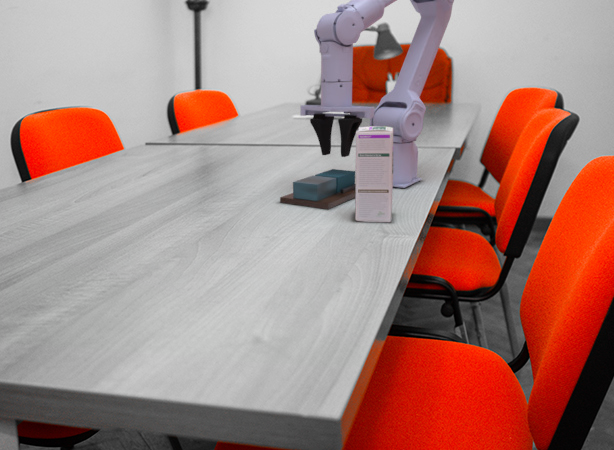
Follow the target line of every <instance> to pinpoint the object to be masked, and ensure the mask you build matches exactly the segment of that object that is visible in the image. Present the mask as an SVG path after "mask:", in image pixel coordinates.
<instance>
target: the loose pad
mask: <svg viewBox="0 0 614 450" xmlns="http://www.w3.org/2000/svg"><path fill="white" fill-rule="evenodd" d="M314 176H322V177H331V178H336V193H339V192H341V189H343V188H345V187H348V186H350V185H353V184H355V183H356V170H347V169H346V170H345V169H338V168H337V169H336V168H332V169H329V170H326V171H325V170H324V171H323V172H320V173H317V174H315V175H314Z"/></svg>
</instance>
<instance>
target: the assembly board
mask: <svg viewBox="0 0 614 450" xmlns="http://www.w3.org/2000/svg"><path fill="white" fill-rule="evenodd" d="M355 184H356V182H355ZM355 184H353V185H350V186H348V187H345V188H343V189H341V192H339V193H336V178H331V177H322V176H315V175H310V176H307V177H304V178H301V179H297V180H294V181H293V182H292V192H291V193H289V194H285V195H282V196H280V197H279V203H282V204H289V205H294V206H302V207H310V208H317V209H323V210H330V209H332V208H335V207H337V206H340V205H342V204H344V203H346V202H348V201H351V200H353V199H355Z"/></svg>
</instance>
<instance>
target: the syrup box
mask: <svg viewBox="0 0 614 450" xmlns="http://www.w3.org/2000/svg"><path fill="white" fill-rule="evenodd" d="M355 183H356V184H355V198H354V199H355V202H354V203H355V205H354V206H355V207H354V208H355V209H354V210H355V212H354V213H355V218H354V221H356V222H365V223H368V222H369V223H391V222H392V216H393V189H394V187H393V127H386V126H370V125H369V126H359V128H358V130H357V131H356V134H355Z"/></svg>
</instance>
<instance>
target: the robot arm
mask: <svg viewBox="0 0 614 450" xmlns="http://www.w3.org/2000/svg"><path fill="white" fill-rule="evenodd" d="M396 1H398V0H349V1H348V2H347V3H341V4H339V5H338V6H337V7H336V8H337V9H336V11H335V12H330V13H325V14H324V15H322V16H321V17H320V18H319V21H318V22H317V24H316V28H315V29H313V33H314V38H315V40H316V42H317V43H318V48H319V53H320V60H321V61H320V104H302V105H301V104H300V108H299V109H300V116H301V117H306V116H311V117H312V116H313V117H312V118H310V119H309V122H310V125H311V126H312V128H313V130H314V132H315V134H316V137H317V139H318V143H319V147H320V151H321V155H322V156H328V155H331V151H332V131H333V125H334V120H335V117H338V119H337V121H338V126H339V134H340V157H341V158H346V157H350V154H351V151H352V150H351V149H352V146H353V142H354V139H355V138H356V131H357V130H358V129H359V127H361V125H362V122H363V119H369V126H386V127H393V188H401V189H405V188H407V187H410V186H411V185H414V184H416V183H418V182H420V181H422V177H418V165H419V164H418V163H419V161H418V160H419V149H418V146H417V144H416V143H415V142H417V139H418V137H419V136H420V134H421V133H422V130H423V128H424V127H423V126H424V117H425V114H426V111H427V107H426V105H425V104H424V102H423V101H422V100H421V96H422V95H421V94H422V92H423V89H424V87H425V85H426V82H427V79H428V76H429V75H430V71H431V69H432V66H433V64H434V61H435V59H436V56H437V53H438V52H439V48H440V46H441V43H442V41H443V38H444V35H445V33H446V30H447V28H448V26H449V23H450V19H451V17H452V11H453V5H454V2H455V0H409V1H410V3H411V5H412V7H413V8H414V10H415V12H416V13H418V14H419V15H420V19H419V22H418V25H417V27H416V30H415V33H414V35H413V37H412V40H411V43H410V45H409V48H408V50H407V53H406V56H405V58H404V61H403V63H402V66H401V68H400V71H399V74H398V76H397V79H396V82H395V84H394V86H393V89H392V90H391V91H389V92H387V93H386V94H385V95H383V97H381V98H380V101H379V103H378V105H377V107H375V106H365V105H364V106H363V105H353V62H354V61H353V60H354V44H356V43H357V42H358V40H359V39H360V37H361V33H363V32H364V31H365V30H367V29H368V28H369V27H371V26H372V25H374V24H376V23H377V22H378V21H379V20H381V19H382V18H383V16H384V13H385V9H386V8H387V7H389V6H390V5H392V4H393V3H395V2H396Z"/></svg>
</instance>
